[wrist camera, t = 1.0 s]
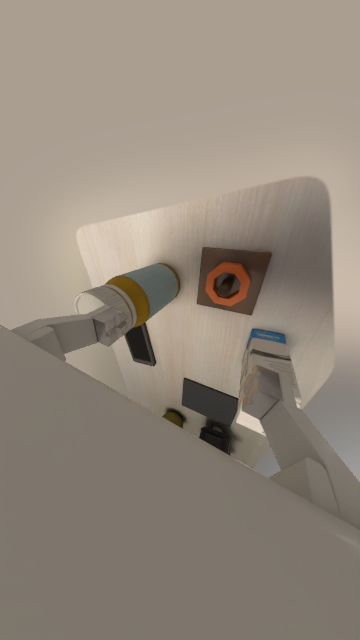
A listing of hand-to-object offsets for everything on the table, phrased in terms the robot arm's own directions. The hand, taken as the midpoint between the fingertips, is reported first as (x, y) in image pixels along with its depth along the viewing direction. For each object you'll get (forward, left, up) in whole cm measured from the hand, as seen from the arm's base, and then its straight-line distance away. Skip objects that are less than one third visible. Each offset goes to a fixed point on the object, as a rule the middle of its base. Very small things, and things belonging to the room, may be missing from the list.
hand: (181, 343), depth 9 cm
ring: (0, +1, -17) cm, 17 cm away
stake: (0, +1, -18) cm, 18 cm away
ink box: (-8, +12, -18) cm, 23 cm away
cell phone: (+19, +20, -18) cm, 32 cm away
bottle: (+11, +3, -18) cm, 21 cm away
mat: (-1, +33, -18) cm, 37 cm away
